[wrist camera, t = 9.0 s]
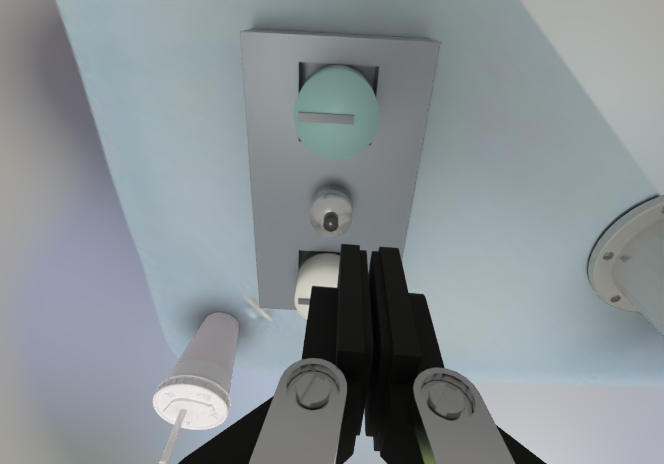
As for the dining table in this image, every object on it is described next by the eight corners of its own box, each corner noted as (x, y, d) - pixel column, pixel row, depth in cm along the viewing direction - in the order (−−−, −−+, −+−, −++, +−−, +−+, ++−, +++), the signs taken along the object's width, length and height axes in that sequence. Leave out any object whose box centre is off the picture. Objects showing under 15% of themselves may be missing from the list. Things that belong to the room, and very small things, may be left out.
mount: (428, 38, 25) (440, 42, 22) (388, 289, 36) (392, 314, 34) (252, 28, 25) (240, 31, 22) (266, 283, 36) (259, 307, 33)
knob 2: (358, 239, 32) (361, 279, 27) (354, 284, 35) (356, 328, 30) (300, 236, 32) (294, 275, 27) (300, 281, 35) (294, 325, 30)
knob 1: (376, 62, 25) (385, 74, 20) (369, 136, 27) (375, 162, 23) (301, 58, 25) (292, 69, 20) (301, 132, 27) (293, 158, 23)
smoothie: (183, 305, 38) (110, 441, 26) (243, 299, 38) (197, 435, 26) (202, 348, 41) (146, 486, 29) (258, 343, 41) (224, 482, 29)
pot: (353, 184, 27) (354, 206, 24) (350, 220, 29) (351, 245, 26) (312, 182, 27) (308, 204, 24) (311, 218, 29) (308, 243, 26)
